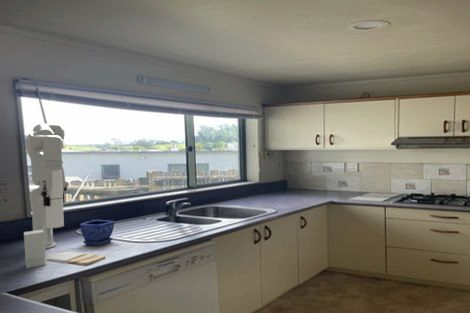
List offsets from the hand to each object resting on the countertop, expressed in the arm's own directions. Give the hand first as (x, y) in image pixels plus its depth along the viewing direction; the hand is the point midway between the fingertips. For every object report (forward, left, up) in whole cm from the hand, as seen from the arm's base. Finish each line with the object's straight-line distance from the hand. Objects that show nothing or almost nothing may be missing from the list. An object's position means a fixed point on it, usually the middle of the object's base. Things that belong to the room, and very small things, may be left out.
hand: (54, 204), depth 180 cm
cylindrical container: (0, 0, -10) cm, 10 cm away
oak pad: (+3, +15, -29) cm, 33 cm away
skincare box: (-14, +1, -29) cm, 33 cm away
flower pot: (-14, +42, -29) cm, 53 cm away
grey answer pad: (-10, +15, -29) cm, 34 cm away
